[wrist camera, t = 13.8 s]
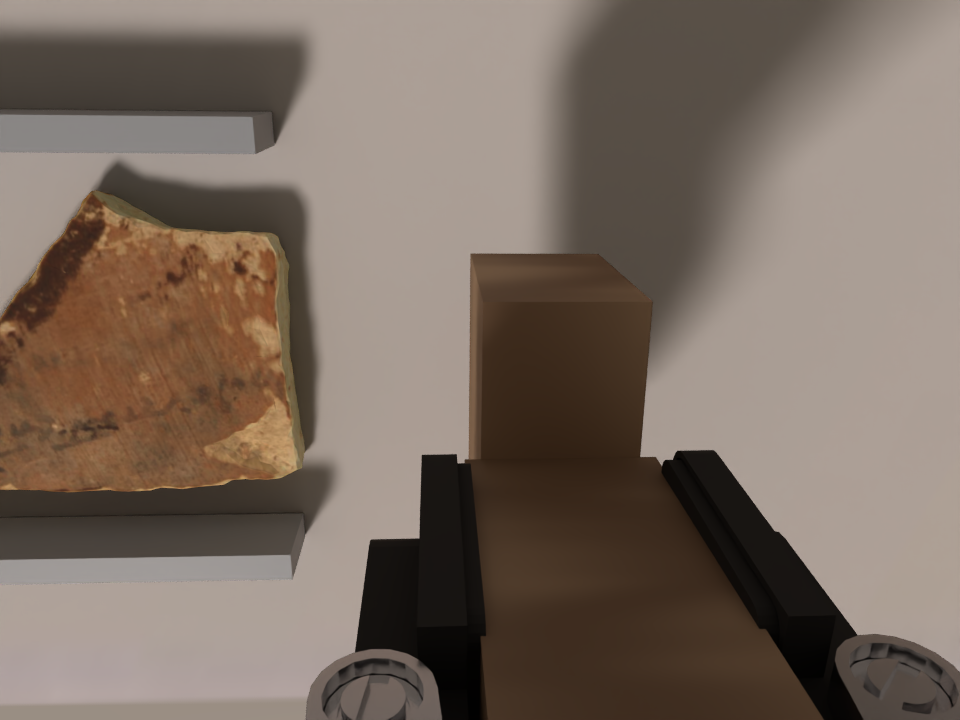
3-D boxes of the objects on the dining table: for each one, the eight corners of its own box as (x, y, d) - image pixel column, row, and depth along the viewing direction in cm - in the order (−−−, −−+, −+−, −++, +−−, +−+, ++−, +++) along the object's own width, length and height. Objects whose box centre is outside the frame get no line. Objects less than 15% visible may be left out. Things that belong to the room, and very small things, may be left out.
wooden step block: (610, 253, 15) (996, 567, 5) (588, 603, 18) (811, 1315, 7) (457, 253, 15) (511, 576, 5) (456, 606, 18) (491, 1341, 7)
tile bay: (271, 111, 18) (252, 117, 16) (305, 536, 22) (292, 579, 20) (-339, 106, 17) (-432, 110, 16) (-189, 544, 21) (-250, 589, 20)
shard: (-89, 470, 21) (-134, 505, 20) (-170, 187, 19) (-230, 198, 17) (311, 461, 22) (300, 493, 20) (287, 183, 19) (272, 194, 18)
